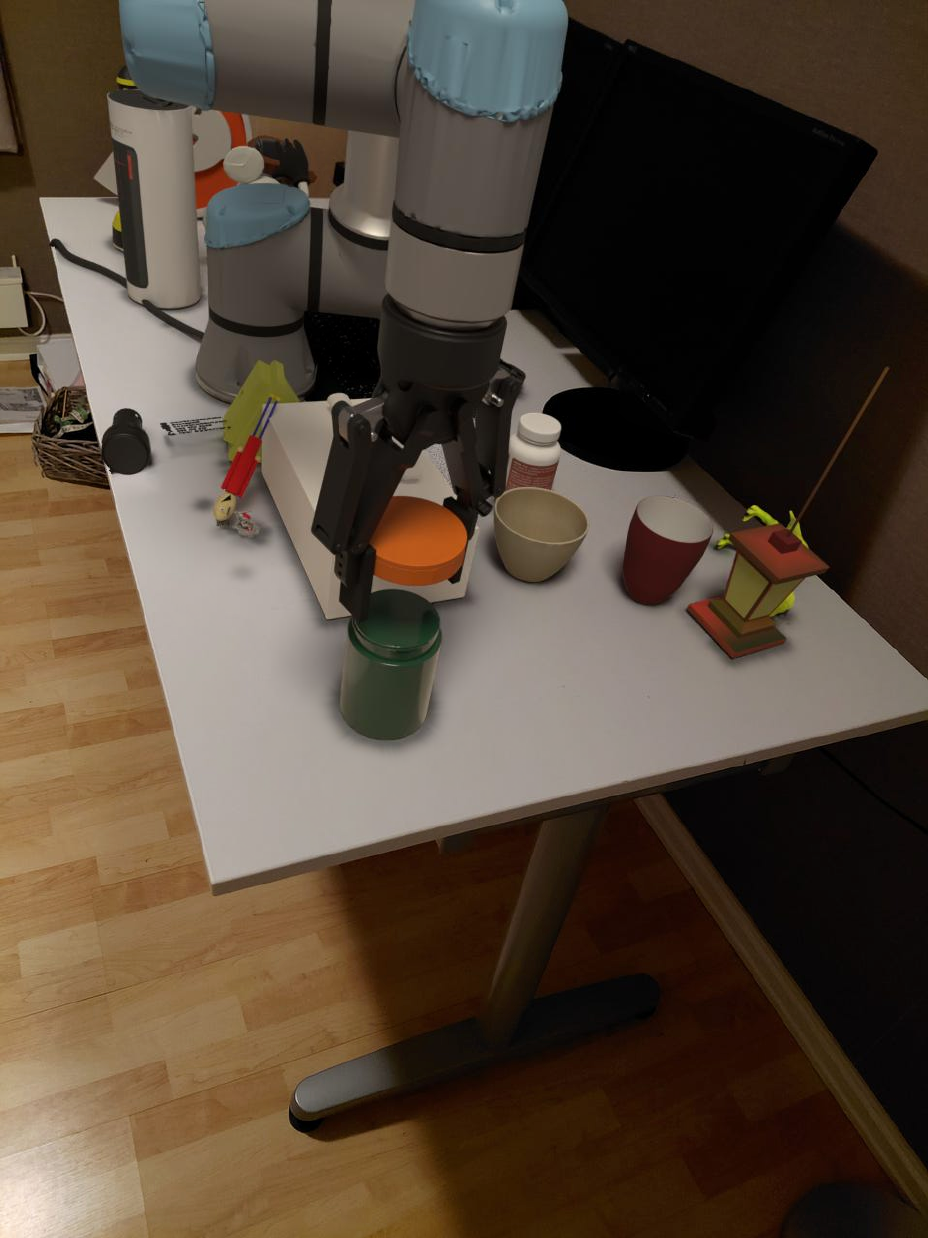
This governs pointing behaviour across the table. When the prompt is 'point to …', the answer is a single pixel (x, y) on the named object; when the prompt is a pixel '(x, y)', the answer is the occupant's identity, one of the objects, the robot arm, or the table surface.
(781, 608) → the dinosaur figurine
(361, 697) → the jar
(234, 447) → the bracket
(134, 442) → the flashlight
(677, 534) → the mug
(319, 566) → the hammer relief block
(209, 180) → the wall plaque
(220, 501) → the figurine
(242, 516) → the figurine
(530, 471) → the pill bottle
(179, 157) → the speaker
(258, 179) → the toy
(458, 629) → the table surface
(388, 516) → the lid
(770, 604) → the light fixture
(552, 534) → the flower pot
